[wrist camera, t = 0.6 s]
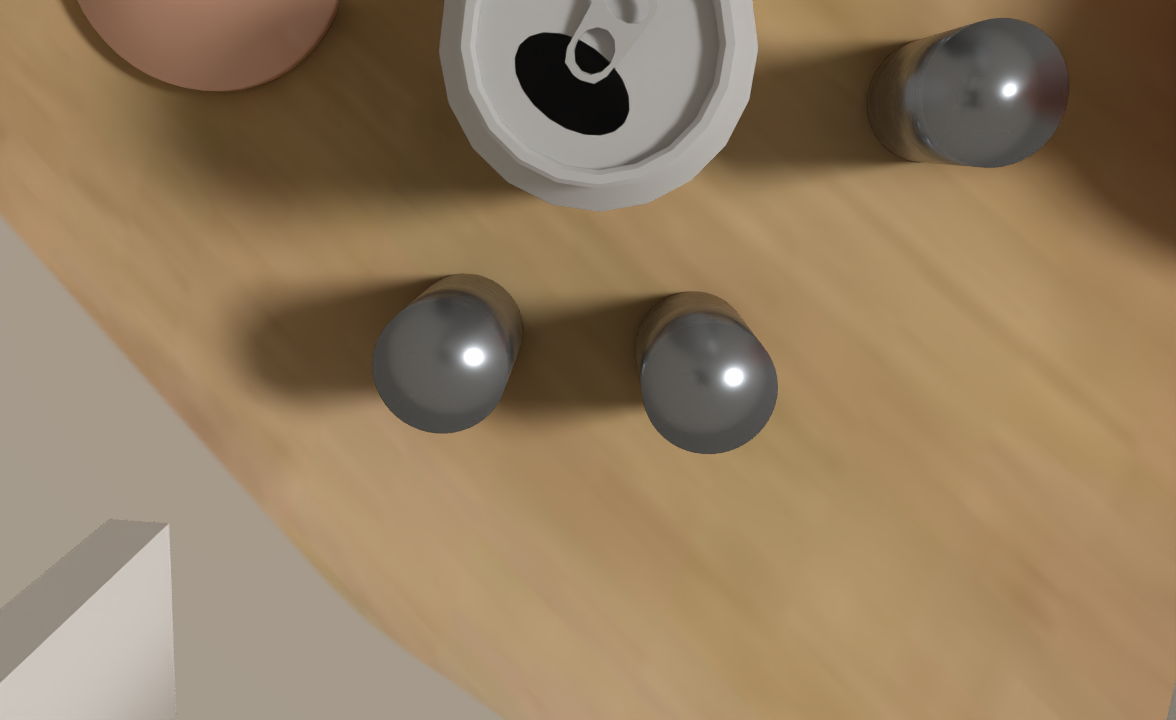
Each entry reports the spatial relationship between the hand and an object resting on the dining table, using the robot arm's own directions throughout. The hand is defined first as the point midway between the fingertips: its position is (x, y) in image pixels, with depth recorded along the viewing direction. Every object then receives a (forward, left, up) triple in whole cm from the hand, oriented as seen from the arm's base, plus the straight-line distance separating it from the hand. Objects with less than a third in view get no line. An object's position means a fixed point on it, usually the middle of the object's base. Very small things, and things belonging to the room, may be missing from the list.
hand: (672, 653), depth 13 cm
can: (-8, -2, -23) cm, 25 cm away
